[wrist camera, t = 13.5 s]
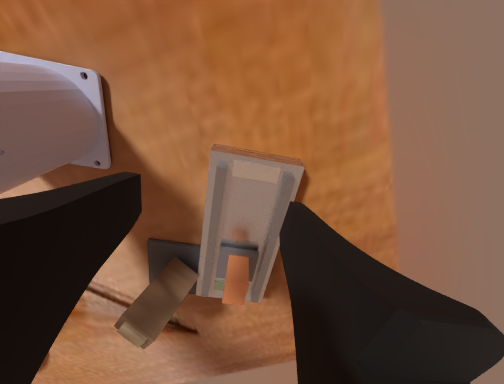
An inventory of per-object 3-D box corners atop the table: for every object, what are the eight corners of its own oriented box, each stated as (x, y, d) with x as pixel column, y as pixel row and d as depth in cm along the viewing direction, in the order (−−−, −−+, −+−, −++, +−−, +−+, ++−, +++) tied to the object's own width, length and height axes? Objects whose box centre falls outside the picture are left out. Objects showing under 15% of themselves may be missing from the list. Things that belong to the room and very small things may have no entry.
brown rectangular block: (165, 269, 25) (111, 329, 19) (175, 256, 23) (118, 318, 17) (187, 287, 25) (141, 353, 19) (199, 276, 24) (151, 344, 17)
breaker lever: (216, 273, 23) (210, 305, 20) (220, 246, 21) (215, 275, 18) (252, 278, 24) (252, 309, 20) (259, 251, 22) (261, 281, 18)
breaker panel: (199, 281, 27) (194, 301, 24) (213, 143, 19) (208, 153, 16) (260, 288, 28) (261, 308, 25) (299, 159, 20) (307, 170, 17)
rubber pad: (151, 286, 27) (149, 289, 27) (149, 238, 24) (147, 240, 23) (205, 292, 28) (205, 295, 28) (211, 246, 24) (211, 249, 24)
